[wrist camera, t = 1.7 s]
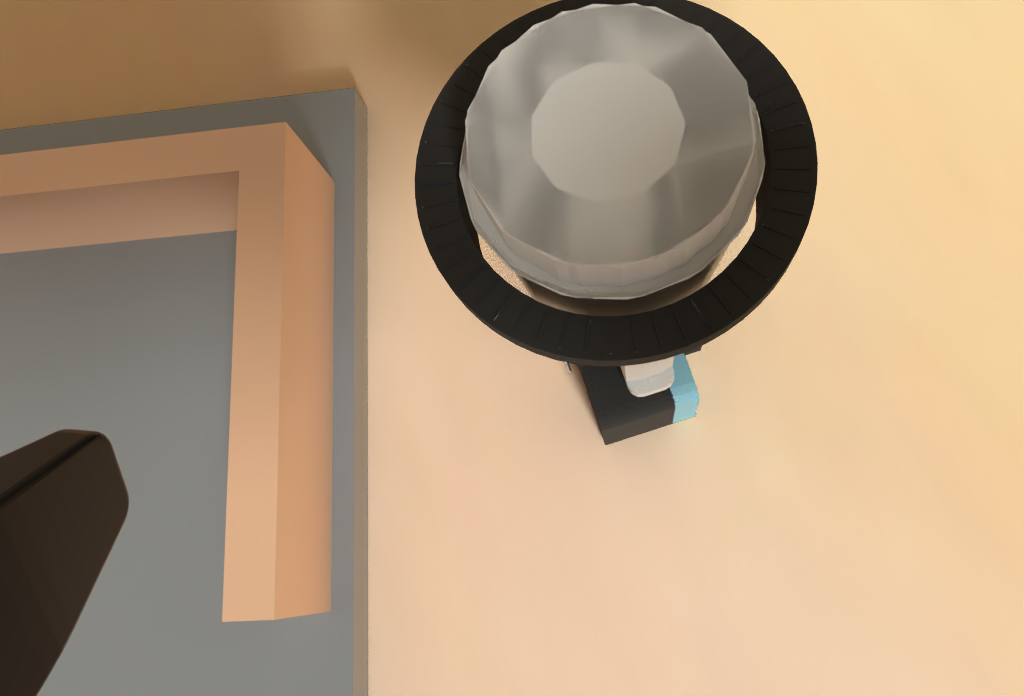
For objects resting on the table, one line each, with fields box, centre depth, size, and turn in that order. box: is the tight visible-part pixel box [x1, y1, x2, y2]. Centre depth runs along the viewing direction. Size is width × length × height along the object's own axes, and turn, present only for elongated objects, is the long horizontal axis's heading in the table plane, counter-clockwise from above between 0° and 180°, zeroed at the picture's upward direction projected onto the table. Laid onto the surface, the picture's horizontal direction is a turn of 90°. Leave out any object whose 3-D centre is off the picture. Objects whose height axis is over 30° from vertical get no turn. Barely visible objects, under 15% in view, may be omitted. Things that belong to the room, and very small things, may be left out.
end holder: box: [0, 88, 368, 696], centre depth 20 cm, size 16×14×4 cm
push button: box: [415, 0, 818, 445], centre depth 16 cm, size 7×5×10 cm
